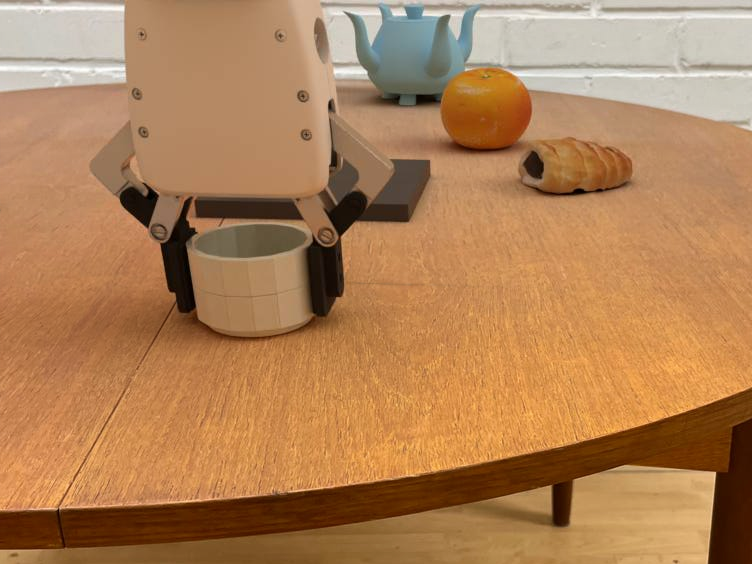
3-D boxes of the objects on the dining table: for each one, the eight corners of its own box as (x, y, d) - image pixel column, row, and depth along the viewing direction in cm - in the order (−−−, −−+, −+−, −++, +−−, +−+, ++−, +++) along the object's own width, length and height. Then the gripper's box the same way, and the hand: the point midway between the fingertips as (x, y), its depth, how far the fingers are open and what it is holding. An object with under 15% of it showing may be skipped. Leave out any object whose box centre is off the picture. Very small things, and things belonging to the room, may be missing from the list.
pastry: (607, 169, 85) (610, 124, 83) (648, 188, 80) (653, 141, 78) (511, 180, 82) (512, 134, 80) (548, 201, 76) (550, 151, 74)
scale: (190, 218, 72) (184, 177, 71) (243, 172, 84) (238, 136, 82) (408, 223, 71) (407, 182, 70) (430, 176, 83) (429, 140, 82)
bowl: (181, 338, 53) (167, 258, 50) (219, 294, 58) (208, 220, 56) (306, 342, 52) (298, 261, 50) (332, 297, 58) (326, 223, 56)
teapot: (450, 112, 108) (449, 12, 103) (341, 105, 111) (334, 8, 106) (483, 92, 119) (483, 0, 113) (382, 86, 122) (378, -3, 116)
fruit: (423, 116, 87) (466, 34, 86) (428, 133, 96) (467, 58, 95) (504, 163, 88) (548, 83, 87) (502, 176, 96) (542, 103, 95)
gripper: (407, -53, 48) (418, 287, 58) (71, -54, 49) (135, 280, 59) (384, -45, 42) (401, 336, 51) (-2, -47, 43) (83, 327, 52)
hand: (258, 304), depth 55 cm, fingers closed on bowl, 7 cm apart
